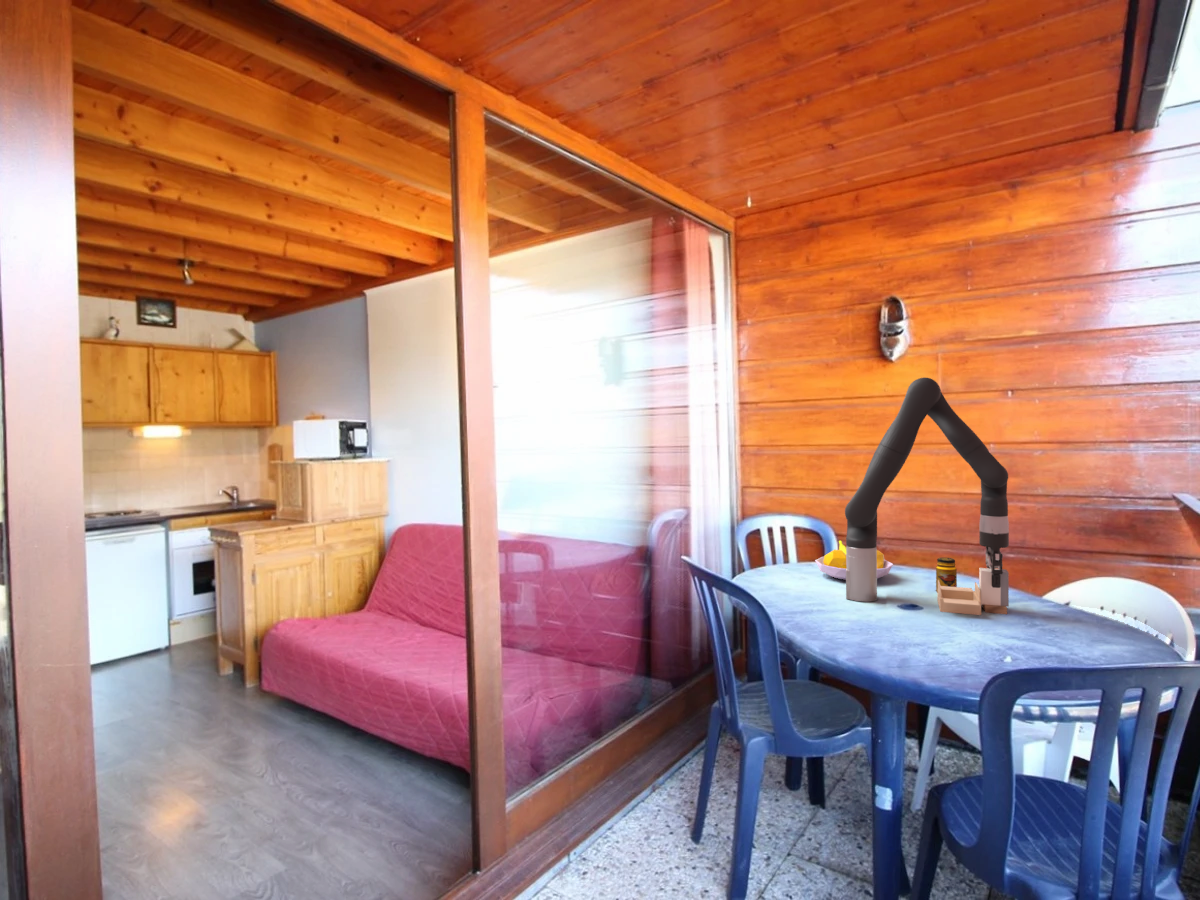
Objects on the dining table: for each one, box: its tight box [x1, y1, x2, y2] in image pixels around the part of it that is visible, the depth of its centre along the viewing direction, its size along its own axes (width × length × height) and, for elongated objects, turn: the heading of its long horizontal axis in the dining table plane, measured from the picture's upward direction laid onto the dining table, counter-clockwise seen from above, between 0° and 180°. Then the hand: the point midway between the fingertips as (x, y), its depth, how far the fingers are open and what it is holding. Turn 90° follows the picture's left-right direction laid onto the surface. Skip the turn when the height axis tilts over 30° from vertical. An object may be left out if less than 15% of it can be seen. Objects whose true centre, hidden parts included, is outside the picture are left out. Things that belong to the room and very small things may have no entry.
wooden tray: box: [936, 580, 982, 616], centre depth 197 cm, size 11×21×8 cm, turn 156°
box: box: [978, 567, 1010, 607], centre depth 194 cm, size 7×4×10 cm, turn 65°
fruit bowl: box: [814, 540, 894, 581], centre depth 241 cm, size 28×27×11 cm
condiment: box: [934, 557, 958, 593], centre depth 215 cm, size 7×8×12 cm
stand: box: [981, 604, 1008, 615], centre depth 194 cm, size 6×8×2 cm
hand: (993, 584), depth 194 cm, fingers open, 8 cm apart
